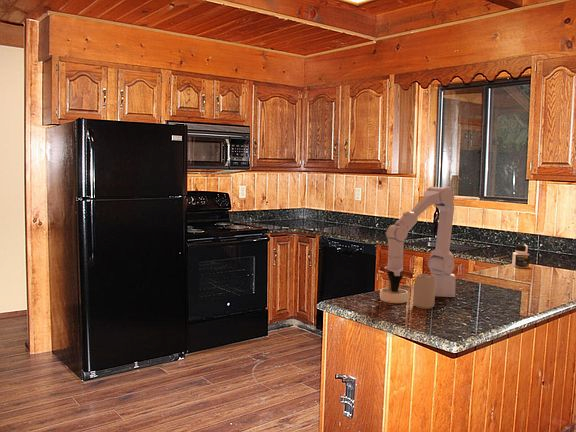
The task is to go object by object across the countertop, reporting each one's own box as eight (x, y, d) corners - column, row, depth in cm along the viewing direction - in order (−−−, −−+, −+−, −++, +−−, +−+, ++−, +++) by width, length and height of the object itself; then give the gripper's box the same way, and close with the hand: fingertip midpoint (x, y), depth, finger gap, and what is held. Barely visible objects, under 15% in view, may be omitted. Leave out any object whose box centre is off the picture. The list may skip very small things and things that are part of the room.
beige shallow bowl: (405, 297, 219) (405, 288, 219) (409, 303, 209) (409, 294, 209) (378, 296, 220) (379, 287, 220) (381, 302, 210) (381, 293, 209)
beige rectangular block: (397, 297, 216) (398, 279, 215) (398, 299, 213) (399, 281, 213) (387, 297, 216) (387, 279, 215) (388, 298, 213) (388, 281, 213)
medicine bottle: (515, 267, 293) (516, 245, 292) (511, 265, 300) (513, 243, 299) (529, 268, 292) (530, 245, 291) (525, 265, 299) (527, 243, 298)
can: (430, 304, 209) (432, 273, 208) (436, 309, 201) (438, 277, 200) (411, 304, 209) (412, 272, 208) (416, 309, 201) (418, 276, 200)
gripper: (383, 252, 221) (381, 286, 222) (387, 259, 206) (385, 294, 207) (400, 253, 220) (399, 286, 221) (406, 259, 206) (404, 295, 207)
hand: (394, 290), depth 214 cm, fingers closed on beige rectangular block, 2 cm apart
